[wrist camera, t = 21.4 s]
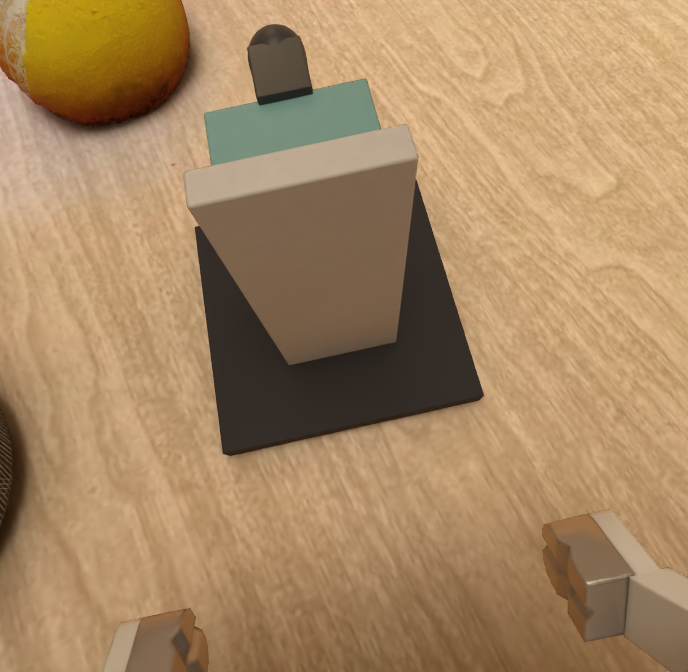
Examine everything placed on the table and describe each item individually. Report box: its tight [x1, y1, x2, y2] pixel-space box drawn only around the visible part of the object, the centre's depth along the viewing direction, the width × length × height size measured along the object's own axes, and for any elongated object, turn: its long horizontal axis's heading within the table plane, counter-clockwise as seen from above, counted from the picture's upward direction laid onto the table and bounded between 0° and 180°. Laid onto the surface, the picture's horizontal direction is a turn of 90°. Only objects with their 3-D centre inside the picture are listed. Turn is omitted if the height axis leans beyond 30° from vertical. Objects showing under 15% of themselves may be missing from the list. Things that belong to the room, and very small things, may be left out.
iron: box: [184, 24, 418, 365], centre depth 18 cm, size 8×5×13 cm
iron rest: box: [195, 180, 484, 456], centre depth 24 cm, size 12×12×1 cm
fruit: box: [0, 0, 190, 126], centre depth 28 cm, size 11×10×8 cm
